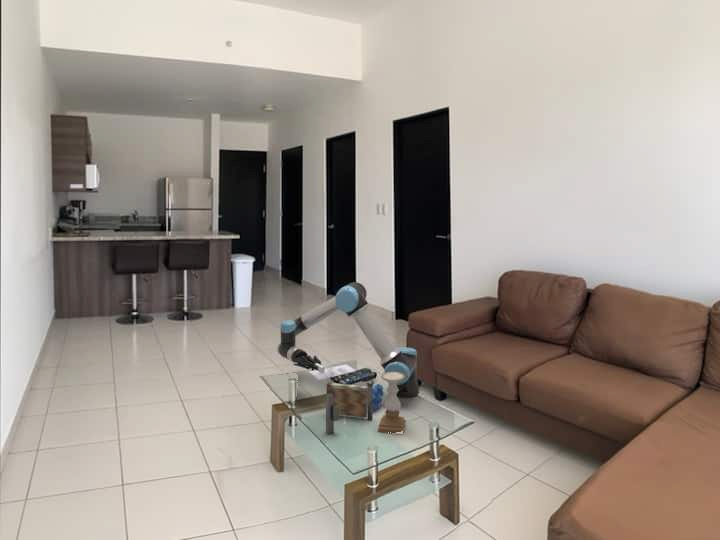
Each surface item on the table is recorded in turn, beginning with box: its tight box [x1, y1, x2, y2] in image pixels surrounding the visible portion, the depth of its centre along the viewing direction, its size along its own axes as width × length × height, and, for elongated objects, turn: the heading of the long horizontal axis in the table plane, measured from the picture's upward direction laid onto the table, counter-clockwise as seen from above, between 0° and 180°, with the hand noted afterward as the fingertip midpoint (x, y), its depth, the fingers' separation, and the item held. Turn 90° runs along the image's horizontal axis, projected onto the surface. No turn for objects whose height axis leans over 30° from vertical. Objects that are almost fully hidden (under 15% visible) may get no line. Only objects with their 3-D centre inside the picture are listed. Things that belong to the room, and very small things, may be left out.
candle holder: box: [377, 372, 407, 434], centre depth 228 cm, size 11×11×24 cm
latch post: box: [325, 393, 340, 435], centre depth 223 cm, size 4×4×17 cm
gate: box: [326, 382, 368, 419], centre depth 238 cm, size 18×2×14 cm, turn 77°
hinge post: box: [366, 380, 375, 422], centre depth 236 cm, size 3×3×18 cm
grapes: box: [373, 383, 385, 412], centre depth 248 cm, size 12×7×12 cm, turn 151°
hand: (323, 370), depth 244 cm, fingers closed
